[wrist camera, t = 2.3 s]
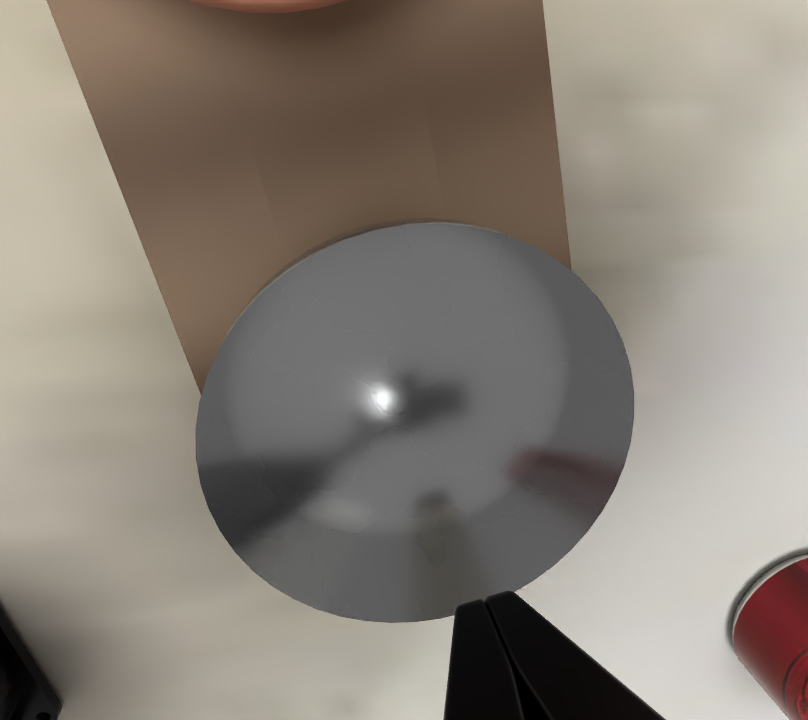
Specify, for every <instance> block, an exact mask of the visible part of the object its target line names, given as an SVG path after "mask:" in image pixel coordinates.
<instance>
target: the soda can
mask: <svg viewBox="0 0 808 720" xmlns="http://www.w3.org/2000/svg"><path fill="white" fill-rule="evenodd" d="M732 639H733V647H734V650H735V653H736V655H737V657H738V659H739V661H740V662H741V663H742V664H743V665H744V667H745V668H746V669H747V670H748V671H749V672H750V674H751V675H752V676H753V677H754V678H755V680H756V681H757V682H758V683H759V684H760V685H761V687H762V688H763V689H764V690H765V691H766V692H767V694H768V695H769V696H770V697H771V698H772V700H773V701H774V702H775V703H776V704H777V705H778V707H779V708H780V709H781V710H782V711H783V713H784V714H785V715H786V716H787V717H788V718H789V720H808V554H806V555H801V556H797V557H794V558H792V559H789V560H786V561H784V562H782V563H780V564H779V565H777V566H775V567H773V568H772V569H770V570H769V571H768V572H766V573H765V574H763V575H762V576H761V577H760V578H759V579H758V580H757V581H756V582H755V583H754V584H753V585H752V586H751V587H750V588H749V590H748V591H747V592H746V593H745V595H744V596H743V598H742V600H741V601H740V603H739V605H738V607H737V610H736V613H735V616H734V620H733V627H732Z"/></svg>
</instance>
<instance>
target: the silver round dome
mask: <svg viewBox="0 0 808 720" xmlns="http://www.w3.org/2000/svg"><path fill="white" fill-rule="evenodd" d="M633 421H634V389H633V382H632V375H631V368H630V364H629V361H628V357H627V354H626V351H625V347H624V344H623V341H622V339H621V337H620V335H619V333H618V331H617V329H616V326H615V324H614V322H613V320H612V318H611V317H610V315H609V314H608V312H607V311H606V309H605V308H604V306H603V305H602V303H601V302H600V300H599V299H598V297H597V296H596V295H595V294H594V293H593V292H592V291H591V290H590V289H589V288H588V286H587V285H586V284H585V283H584V282H583V281H582V280H581V279H580V278H579V277H578V276H577V275H576V274H574V273H573V272H572V271H571V270H569V269H568V268H567V267H566V266H564V265H563V264H562V263H561V262H559V261H558V260H557V259H555V258H553V257H552V256H550V255H548V254H547V253H545V252H543V251H541V250H540V249H538V248H536V247H535V246H533V245H531V244H528V243H526V242H523V241H521V240H518V239H516V238H514V237H511V236H509V235H506V234H504V233H501V232H499V231H496V230H494V229H491V228H488V227H484V226H480V225H476V224H472V223H468V222H463V221H457V220H447V219H437V218H419V219H399V220H394V221H388V222H382V223H377V224H371V225H368V226H365V227H361V228H358V229H355V230H352V231H349V232H346V233H343V234H340V235H338V236H336V237H334V238H332V239H329V240H327V241H325V242H323V243H321V244H319V245H317V246H315V247H313V248H311V249H310V250H308V251H306V252H305V253H303V254H302V255H300V256H299V257H297V258H296V259H294V260H293V261H291V262H290V263H288V264H287V265H285V266H284V267H283V268H282V269H281V270H280V271H278V272H277V273H276V274H275V275H274V276H273V277H271V278H270V279H269V280H268V281H267V282H266V283H265V284H264V285H263V286H262V287H261V288H260V289H259V290H258V291H257V292H256V294H255V295H254V296H253V297H252V298H251V299H250V300H249V302H248V303H247V304H246V305H245V306H244V307H243V309H242V311H241V312H240V314H239V315H238V317H237V318H236V320H235V321H234V323H233V324H232V326H231V327H230V329H229V330H228V332H227V334H226V336H225V338H224V340H223V343H222V345H221V347H220V349H219V351H218V353H217V355H216V357H215V360H214V362H213V364H212V366H211V368H210V370H209V372H208V375H207V379H206V382H205V385H204V389H203V392H202V395H201V399H200V402H199V410H198V417H197V424H196V460H197V466H198V472H199V478H200V484H201V487H202V490H203V493H204V496H205V499H206V502H207V505H208V508H209V510H210V512H211V514H212V516H213V518H214V520H215V522H216V524H217V526H218V528H219V530H220V532H221V533H222V534H223V536H224V537H225V539H226V540H227V541H228V543H229V544H230V546H231V547H232V548H233V550H234V551H235V553H236V554H237V555H238V556H239V557H240V558H241V559H242V560H243V561H244V562H245V563H246V564H247V565H248V566H249V567H250V568H251V569H252V570H253V571H254V572H255V573H256V574H258V575H259V576H260V577H262V578H263V579H264V580H265V581H267V582H268V583H269V584H270V585H272V586H273V587H275V588H276V589H278V590H280V591H281V592H283V593H285V594H286V595H288V596H290V597H291V598H293V599H295V600H297V601H300V602H302V603H304V604H306V605H309V606H311V607H313V608H316V609H318V610H321V611H325V612H328V613H331V614H335V615H338V616H341V617H347V618H352V619H358V620H363V621H374V622H388V623H396V622H418V621H425V620H433V619H440V618H444V617H448V616H453V615H455V610H456V607H457V606H458V605H460V604H463V603H467V602H470V601H473V600H477V599H482V600H483V601H484V602H485V599H486V598H487V597H488V596H490V595H494V594H497V593H500V592H504V591H508V590H509V591H513V592H515V591H517V590H518V589H520V588H522V587H523V586H525V585H527V584H528V583H530V582H532V581H534V580H535V579H536V578H538V577H539V576H540V575H542V574H543V573H544V572H546V571H547V570H548V569H550V568H551V567H552V566H554V565H555V564H556V563H557V562H558V561H559V560H560V559H561V558H563V557H564V556H565V555H566V554H567V553H568V552H569V551H570V550H571V549H572V548H573V547H574V546H575V545H576V544H577V543H578V542H579V540H580V539H581V538H582V537H583V536H584V535H585V534H586V533H587V531H588V530H589V529H590V527H591V526H592V525H593V523H594V522H595V520H596V519H597V518H598V516H599V515H600V513H601V512H602V511H603V509H604V507H605V505H606V504H607V502H608V500H609V498H610V496H611V495H612V493H613V491H614V489H615V487H616V484H617V482H618V480H619V477H620V475H621V472H622V470H623V467H624V464H625V461H626V457H627V453H628V450H629V446H630V442H631V436H632V428H633Z"/></svg>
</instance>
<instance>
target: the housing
mask: <svg viewBox="0 0 808 720" xmlns="http://www.w3.org/2000/svg"><path fill="white" fill-rule="evenodd" d="M47 3H48V5H49V8H50V10H51V13H52V16H53V18H54V21H55V23H56V26H57V28H58V31H59V33H60V36H61V38H62V41H63V44H64V46H65V49H66V51H67V54H68V56H69V59H70V61H71V64H72V67H73V69H74V72H75V74H76V77H77V79H78V82H79V84H80V87H81V90H82V92H83V95H84V97H85V100H86V102H87V105H88V107H89V110H90V112H91V115H92V118H93V120H94V123H95V125H96V128H97V130H98V133H99V135H100V138H101V141H102V143H103V146H104V148H105V151H106V153H107V156H108V158H109V161H110V164H111V166H112V169H113V171H114V174H115V176H116V179H117V181H118V184H119V186H120V189H121V192H122V194H123V197H124V199H125V202H126V204H127V207H128V209H129V212H130V215H131V217H132V220H133V222H134V225H135V227H136V230H137V232H138V235H139V238H140V240H141V243H142V245H143V248H144V250H145V253H146V255H147V258H148V260H149V263H150V266H151V268H152V271H153V273H154V276H155V278H156V281H157V283H158V286H159V289H160V291H161V294H162V296H163V299H164V301H165V304H166V306H167V309H168V312H169V314H170V317H171V319H172V322H173V324H174V327H175V329H176V332H177V335H178V337H179V340H180V342H181V345H182V347H183V350H184V352H185V355H186V357H187V360H188V363H189V365H190V368H191V370H192V373H193V375H194V378H195V380H196V383H197V386H198V388H199V391H200V393H201V395H202V392H203V389H204V385H205V382H206V379H207V375H208V372H209V370H210V368H211V366H212V364H213V362H214V360H215V357H216V355H217V353H218V351H219V349H220V347H221V345H222V343H223V340H224V338H225V336H226V334H227V332H228V330H229V329H230V327H231V326H232V324H233V323H234V321H235V320H236V318H237V317H238V315H239V314H240V312H241V311H242V309H243V307H244V306H245V305H246V304H247V303H248V302H249V300H250V299H251V298H252V297H253V296H254V295H255V294H256V292H257V291H258V290H259V289H260V288H261V287H262V286H263V285H264V284H265V283H266V282H267V281H268V280H269V279H270V278H271V277H273V276H274V275H275V274H276V273H277V272H278V271H280V270H281V269H282V268H283V267H284V266H285V265H287V264H288V263H290V262H291V261H293V260H294V259H296V258H297V257H299V256H300V255H302V254H303V253H305V252H306V251H308V250H310V249H311V248H313V247H315V246H317V245H319V244H321V243H323V242H325V241H327V240H329V239H332V238H334V237H336V236H338V235H340V234H343V233H346V232H349V231H352V230H355V229H358V228H361V227H365V226H368V225H371V224H377V223H382V222H388V221H394V220H399V219H419V218H437V219H447V220H457V221H463V222H468V223H472V224H476V225H480V226H484V227H488V228H491V229H494V230H496V231H499V232H501V233H504V234H506V235H509V236H511V237H514V238H516V239H518V240H521V241H523V242H526V243H528V244H531V245H533V246H535V247H536V248H538V249H540V250H541V251H543V252H545V253H547V254H548V255H550V256H552V257H553V258H555V259H557V260H558V261H559V262H561V263H562V264H563V265H564V266H566V267H567V268H568V269H569V270H571V264H570V255H569V245H568V236H567V227H566V217H565V208H564V199H563V189H562V180H561V171H560V161H559V152H558V143H557V133H556V124H555V115H554V105H553V96H552V86H551V77H550V68H549V58H548V49H547V40H546V30H545V21H544V12H543V2H542V0H346V1H343V2H340V3H336V4H333V5H330V6H326V7H323V8H319V9H312V10H305V11H297V12H290V13H246V12H240V11H233V10H227V9H221V8H214V7H209V6H206V5H202V4H199V3H196V2H193V1H189V0H47Z"/></svg>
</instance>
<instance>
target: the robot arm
mask: <svg viewBox="0 0 808 720" xmlns="http://www.w3.org/2000/svg"><path fill="white" fill-rule="evenodd" d="M61 709H62V705H61V703H60V701H59V700H58V698H57V696H56V695H55V693H54V692H53V690H52V689H51V687H50V686H49V684H48V683H47V681H46V679H45V678H44V676H43V675H42V673H41V672H40V670H39V669H38V667H37V665H36V664H35V662H34V661H33V659H32V658H31V656H30V655H29V653H28V651H27V650H26V648H25V647H24V645H23V644H22V642H21V641H20V639H19V637H18V636H17V634H16V633H15V631H14V630H13V628H12V627H11V625H10V623H9V622H8V620H7V619H6V617H5V616H4V614H3V613H2V611H1V610H0V720H57V719H58V716H59V714H60V712H61ZM444 720H666V719H664V718H663V717H662V716H661V715H660V714H658V713H657V712H656V711H655V710H654V709H653V708H651V707H650V706H649V705H648V704H647V703H645V702H644V701H643V700H642V699H641V698H639V697H638V696H637V695H636V694H635V693H633V692H632V691H631V690H630V689H629V688H628V687H626V686H625V685H624V684H623V683H622V682H620V681H619V680H618V679H617V678H616V677H614V676H613V675H612V674H611V673H610V672H608V671H607V670H606V669H605V668H604V667H602V666H601V665H600V664H599V663H598V662H597V661H595V660H594V659H593V658H592V657H591V656H589V655H588V654H587V653H586V652H585V651H583V650H582V649H581V648H580V647H579V646H577V645H576V644H575V643H574V642H573V641H572V640H570V639H569V638H568V637H567V636H566V635H564V634H563V633H562V632H561V631H560V630H558V629H557V628H556V627H555V626H554V625H552V624H551V623H550V622H549V621H548V620H547V619H545V618H544V617H543V616H542V615H541V614H539V613H538V612H537V611H536V610H535V609H533V608H532V607H531V606H530V605H529V604H527V603H526V602H525V601H524V600H523V599H522V598H520V597H519V596H518V595H517V594H515V593H514V592H513V591H509V590H508V591H504V592H500V593H497V594H494V595H490V596H488V597H487V598H486V599H485V602H484V601H483V600H482V599H477V600H473V601H470V602H467V603H463V604H460V605H458V606H457V607H456V610H455V618H454V627H453V636H452V646H451V655H450V664H449V673H448V683H447V692H446V701H445V711H444Z"/></svg>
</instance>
